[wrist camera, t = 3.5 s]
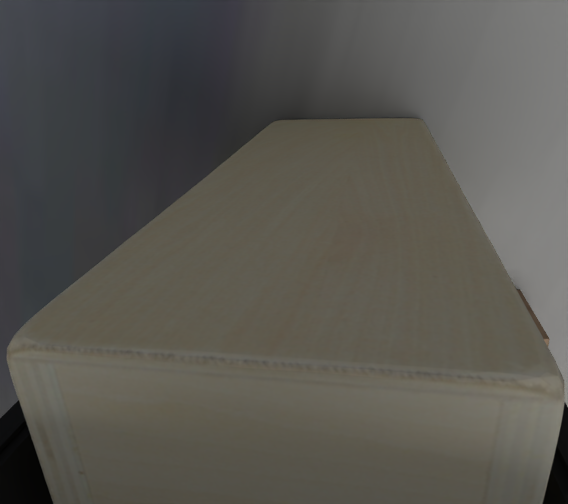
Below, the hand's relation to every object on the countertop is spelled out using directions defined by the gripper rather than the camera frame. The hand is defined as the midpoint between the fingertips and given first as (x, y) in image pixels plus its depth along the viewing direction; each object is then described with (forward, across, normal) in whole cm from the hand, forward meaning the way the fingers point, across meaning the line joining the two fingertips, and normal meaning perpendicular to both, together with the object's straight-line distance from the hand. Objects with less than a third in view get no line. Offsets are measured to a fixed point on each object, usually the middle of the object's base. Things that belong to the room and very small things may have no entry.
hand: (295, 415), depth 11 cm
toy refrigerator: (+18, 0, -1) cm, 18 cm away
